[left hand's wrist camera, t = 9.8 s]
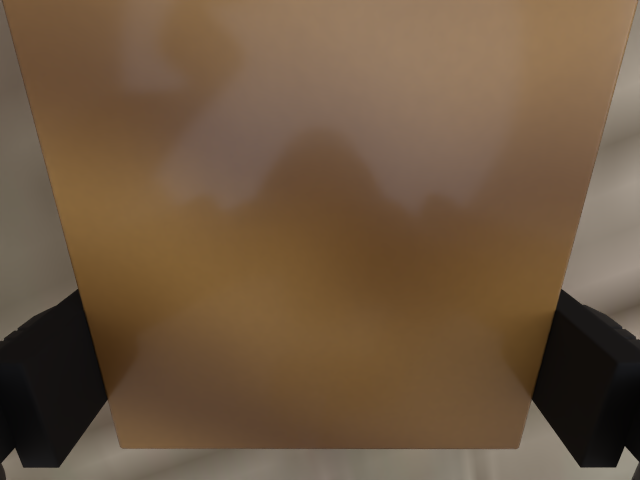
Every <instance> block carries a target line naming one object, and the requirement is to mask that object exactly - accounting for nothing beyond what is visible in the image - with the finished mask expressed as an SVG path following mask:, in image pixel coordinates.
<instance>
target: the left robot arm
mask: <svg viewBox="0 0 640 480" xmlns="http://www.w3.org/2000/svg"><path fill="white" fill-rule="evenodd" d="M107 400H108V399H107V395H106V391H105V388H104V384H103V380H102V376H101V373H100V369H99V365H98V361H97V357H96V354H95V350H94V346H93V342H92V338H91V335H90V331H89V327H88V323H87V320H86V316H85V312H84V308H83V304H82V301H81V297H80V293H79V289H77V290H76V291H75V292H73V293H72V294H71V295H70V296H68V297H67V298H66V299H64V300H63V301H62V302H60V303H59V304H58V305H57V306H54V307H52V308H50V309H48V310H46V311H44V312H42V313H40V314H38V315H36V316H34V317H32V318H31V319H30V320H28V321H27V322H26V323H24V324H23V325H21V326H20V327H19V328H18V330H17V331H13V332H12V333H11V334H9V335H8V336H7V337H5V338H4V341H0V480H6V476H5V470H4V468H3V466H2V464H1V463H2V462H3V461H4V459H5V458H6V457H7V456H8V455H9V454H10V453H11V452H12V450H13V449H14V448H16V451H17V453H18V455H19V458H20V460H21V463H22V465H23V468H59V467H60V465H61V464H62V463H63V461H64V460H65V458H66V457H67V456H68V454H69V453H70V451H71V450H72V449H73V447H74V446H75V444H76V443H77V442H78V440H79V439H80V437H81V436H82V435H83V433H84V432H85V430H86V429H87V428H88V426H89V425H90V423H91V422H92V421H93V419H94V418H95V416H96V415H97V414H98V412H99V411H100V409H101V408H102V407H103V405H104V404H105V402H106V401H107ZM532 400H533V402H534V403H535V404H536V406H537V407H538V409H539V410H540V411H541V413H542V414H543V416H544V417H545V418H546V420H547V421H548V423H549V424H550V425H551V427H552V428H553V430H554V431H555V432H556V434H557V435H558V437H559V438H560V439H561V441H562V442H563V444H564V445H565V446H566V448H567V449H568V451H569V452H570V453H571V455H572V456H573V458H574V459H575V460H576V462H577V463H578V465H579V466H580V467H616V466H617V464H618V461H619V459H620V456H621V454H622V452H623V449H624V447H626V448H627V449H628V450H629V451H630V452H631V453H632V454H633V456H634V457H635V458H636V459H637V460H638V461H639V464H638V466H637V468H636V470H635V473H634V475H633V477H632V480H640V340H636V337H635V336H634V335H633V334H631V333H630V332H629V331H627V330H626V329H622V326H620V325H619V324H618V323H616V322H615V321H614V320H612V319H611V318H610V317H608V316H607V315H605V314H603V313H601V312H599V311H597V310H595V309H593V308H591V307H589V306H586V305H582V304H580V303H579V302H578V301H577V300H575V299H574V298H573V297H571V296H570V295H569V294H567V293H566V292H565V291H564V290H562V289H561V292H560V295H559V299H558V303H557V307H556V310H555V314H554V318H553V322H552V325H551V329H550V333H549V336H548V340H547V344H546V348H545V351H544V355H543V359H542V363H541V366H540V370H539V374H538V378H537V381H536V385H535V389H534V393H533V396H532Z"/></svg>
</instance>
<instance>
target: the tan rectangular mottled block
mask: <svg viewBox="0 0 640 480" xmlns="http://www.w3.org/2000/svg"><path fill="white" fill-rule="evenodd" d="M2 2H3V6H4V9H5V13H6V17H7V21H8V24H9V28H10V32H11V36H12V40H13V43H14V47H15V51H16V55H17V59H18V62H19V66H20V70H21V74H22V77H23V81H24V85H25V89H26V93H27V96H28V100H29V104H30V108H31V111H32V115H33V119H34V123H35V127H36V130H37V134H38V138H39V142H40V146H41V149H42V153H43V157H44V161H45V164H46V168H47V172H48V176H49V180H50V183H51V187H52V191H53V195H54V199H55V202H56V206H57V210H58V214H59V217H60V221H61V225H62V229H63V233H64V236H65V240H66V244H67V248H68V251H69V255H70V259H71V263H72V267H73V270H74V274H75V278H76V282H77V286H78V289H79V293H80V297H81V301H82V304H83V308H84V312H85V316H86V320H87V323H88V327H89V331H90V335H91V338H92V342H93V346H94V350H95V354H96V357H97V361H98V365H99V369H100V373H101V376H102V380H103V384H104V388H105V391H106V395H107V399H108V403H109V407H110V410H111V414H112V418H113V422H114V426H115V429H116V433H117V437H118V441H119V444H120V447H121V448H123V449H517V448H519V445H520V441H521V438H522V434H523V430H524V426H525V423H526V419H527V415H528V411H529V408H530V404H531V400H532V396H533V393H534V389H535V385H536V381H537V378H538V374H539V370H540V366H541V363H542V359H543V355H544V351H545V348H546V344H547V340H548V336H549V333H550V329H551V325H552V322H553V318H554V314H555V310H556V307H557V303H558V299H559V295H560V292H561V288H562V284H563V280H564V277H565V273H566V269H567V265H568V262H569V258H570V254H571V250H572V247H573V243H574V239H575V235H576V232H577V228H578V224H579V220H580V217H581V213H582V209H583V205H584V202H585V198H586V194H587V190H588V187H589V183H590V179H591V176H592V172H593V168H594V164H595V161H596V157H597V153H598V149H599V146H600V142H601V138H602V134H603V131H604V127H605V123H606V119H607V116H608V112H609V108H610V104H611V101H612V97H613V93H614V89H615V86H616V82H617V78H618V74H619V71H620V67H621V63H622V59H623V56H624V52H625V48H626V45H627V41H628V37H629V33H630V30H631V26H632V22H633V18H634V15H635V11H636V7H637V3H638V0H2Z"/></svg>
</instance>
